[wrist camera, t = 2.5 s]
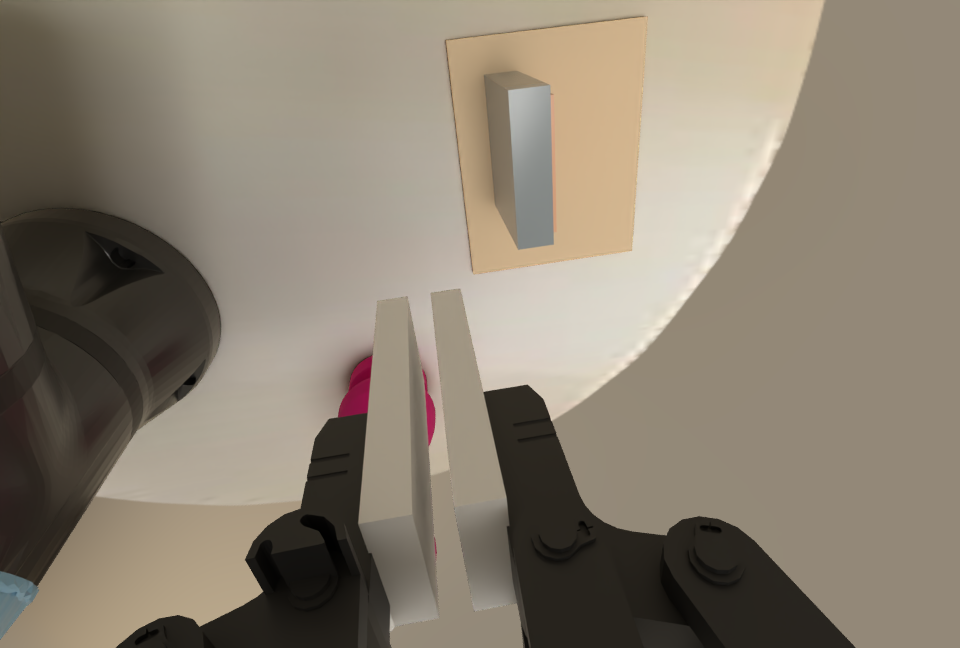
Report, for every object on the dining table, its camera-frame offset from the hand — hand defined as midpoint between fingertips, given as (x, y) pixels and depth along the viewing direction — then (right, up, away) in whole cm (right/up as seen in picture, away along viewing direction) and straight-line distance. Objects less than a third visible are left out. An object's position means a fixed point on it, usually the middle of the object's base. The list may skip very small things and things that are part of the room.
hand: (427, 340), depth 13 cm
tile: (+3, +12, +19) cm, 23 cm away
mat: (+6, +12, +20) cm, 24 cm away
